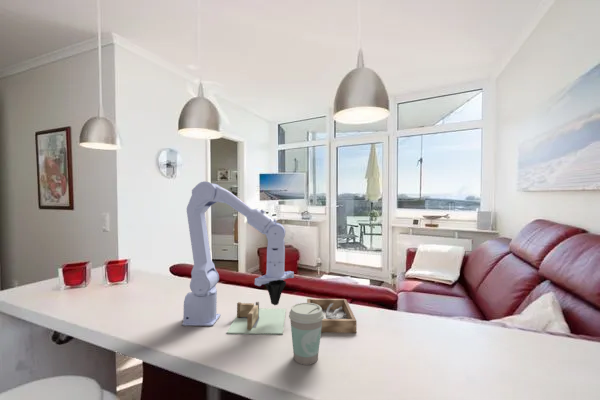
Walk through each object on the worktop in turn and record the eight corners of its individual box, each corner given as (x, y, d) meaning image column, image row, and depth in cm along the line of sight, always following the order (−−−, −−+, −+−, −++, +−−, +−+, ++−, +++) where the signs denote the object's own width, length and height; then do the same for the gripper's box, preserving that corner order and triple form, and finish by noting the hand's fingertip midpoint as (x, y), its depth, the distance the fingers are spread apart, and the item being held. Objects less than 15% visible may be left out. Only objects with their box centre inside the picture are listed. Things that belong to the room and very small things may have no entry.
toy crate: (308, 332, 78) (308, 320, 78) (307, 308, 96) (307, 298, 96) (356, 332, 78) (356, 320, 78) (345, 308, 96) (346, 299, 96)
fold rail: (254, 317, 86) (254, 304, 86) (258, 318, 86) (258, 304, 86) (246, 329, 78) (246, 314, 78) (251, 329, 78) (251, 315, 78)
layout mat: (226, 333, 77) (226, 332, 77) (240, 309, 95) (240, 308, 95) (282, 334, 76) (282, 332, 76) (286, 309, 94) (286, 308, 94)
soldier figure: (353, 322, 87) (344, 325, 77) (341, 331, 88) (331, 335, 77) (338, 301, 91) (328, 301, 81) (327, 310, 92) (316, 311, 81)
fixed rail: (236, 317, 86) (236, 302, 86) (237, 316, 88) (237, 301, 88) (258, 318, 86) (258, 303, 86) (259, 316, 88) (259, 301, 88)
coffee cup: (296, 372, 59) (297, 317, 60) (283, 352, 67) (284, 304, 67) (330, 363, 63) (330, 311, 63) (313, 345, 71) (314, 300, 71)
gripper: (265, 266, 77) (264, 313, 77) (300, 260, 88) (299, 301, 87) (251, 262, 83) (250, 306, 82) (286, 257, 93) (285, 296, 92)
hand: (274, 304), depth 85 cm, fingers closed
